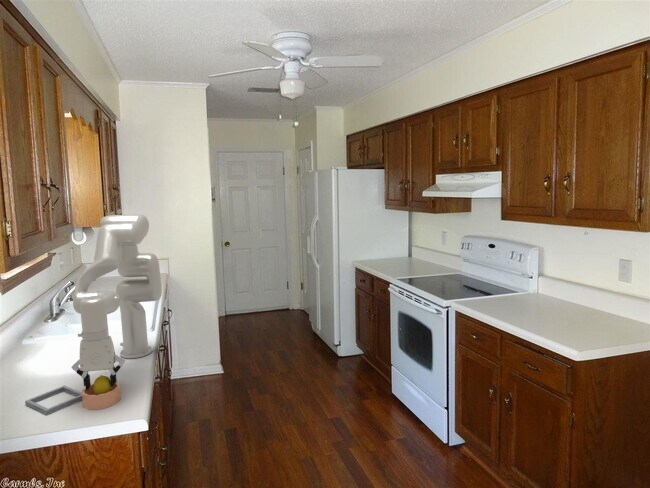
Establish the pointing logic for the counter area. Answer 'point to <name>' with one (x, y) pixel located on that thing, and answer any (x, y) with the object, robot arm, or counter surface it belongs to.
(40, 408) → the gray square frame
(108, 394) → the bowl
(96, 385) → the lemon
